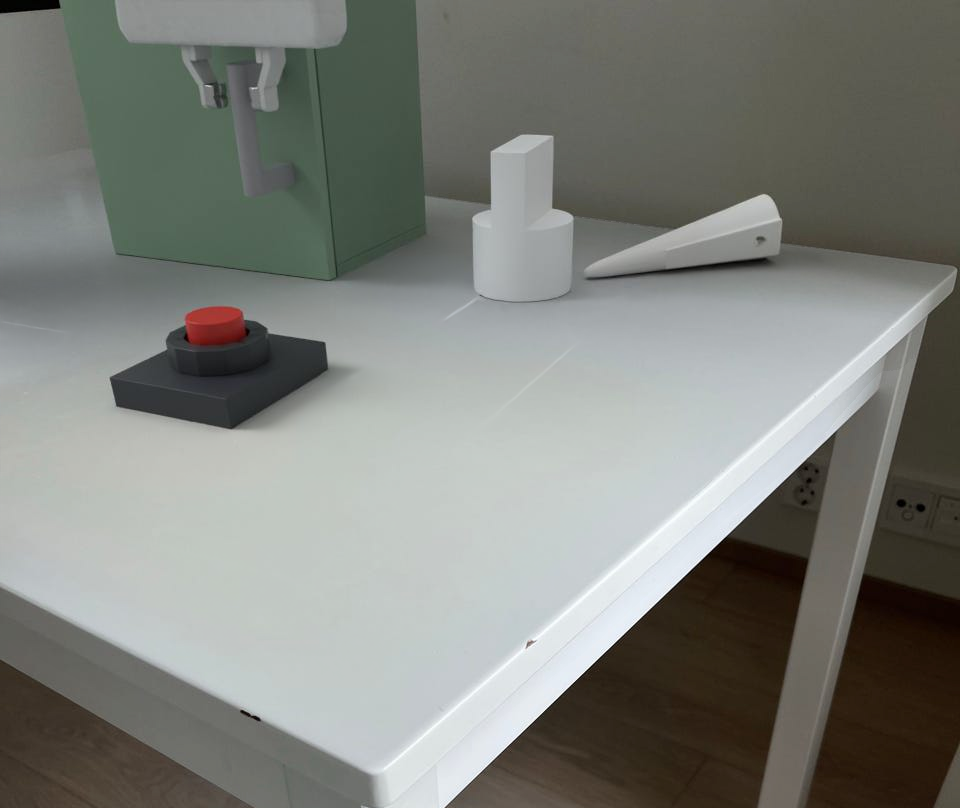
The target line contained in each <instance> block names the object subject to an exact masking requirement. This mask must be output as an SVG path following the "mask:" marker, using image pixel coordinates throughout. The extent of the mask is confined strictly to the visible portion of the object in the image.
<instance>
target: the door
mask: <svg viewBox="0 0 960 808" xmlns="http://www.w3.org/2000/svg"><path fill="white" fill-rule="evenodd" d="M58 1H59V5H60V11H61V16H62V20H63V24H64V28H65V33H66V38H67V42H68V47H69V51H70V56H71V60H72V65H73V69H74V73H75V79H76V83H77V87H78V92H79V97H80V102H81V105H82V110H83V115H84V119H85V123H86V127H87V132H88V137H89V142H90V146H91V151H92V155H93V159H94V164H95V168H96V173H97V177H98V183H99V186H100V191H101V192H100V193H101V195H102V196H101V197H102V200H103V205H104V209H105V213H106V214H105V215H106V217H107V223H108V227H109V233H110V236H111V240H112V245H113V250H114V253H115V254H117V255H118V254H119V255H125V256H134V257H141V258H149V259H155V260H156V259H157V260H165V261H171V262H172V261H173V262H178V263H179V262H180V263H187V264H196V265H202V266H203V265H204V266H212V267H219V268H226V269H227V268H228V269H235V270H244V271H252V272H259V273H266V274H275V275H282V276H283V275H284V276H289V277H299V278H306V279H314V280H321V281H329V282H330V281H332V280H335V279H336V278H337V277H336V269H335V259H334V248H333V238H332V228H331V218H330V208H329V198H328V188H327V178H326V167H325V157H324V147H323V137H322V127H321V117H320V107H319V96H318V86H317V76H316V66H315V56H314V49H307V48H285V57H286V63H285V66H284V68H283V71H282V74H281V77H280V80H279V83H278V85H277V94H278V103H279V106H278V109H277V110H276V111H271V112H261V111H254V110H253V109H252V105H251V102H252V98H251V97H250V90H249V87H253V86H257V85H258V81H259V77H260V73H261V69H262V65H263V63H257V62H256V55H255V48H254V47H239V46H211V54H212V58H210V59H207V61H208V63H209V65H210V67H211V69H212V71H213V73H214V75H215V77H216V79H217V81H218V83H226V88H227V93H226V96H227V97H228V106H227V107H225V108H221V109H208V108H204V107H203V106H202V103H201V97H200V91H199V85H197V83H196V82H195V80H194V78H193V77H192V75H191V73H190V72H189V70H188V68H187V67H186V65H185V64H184V62H183V59H182V52H181V46H180V45H171V44H137V43H130V42H129V41H128V40H127V39H126V37H125V36H124V34H123V33H122V31H121V30H120V28H119V24H118V19H117V13H116V5H115V0H58Z"/></svg>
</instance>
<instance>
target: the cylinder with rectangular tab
mask: <svg viewBox="0 0 960 808" xmlns="http://www.w3.org/2000/svg"><path fill="white" fill-rule="evenodd" d="M554 138H555V136H554V135H550V134H549V135H548V134H547V135H545V134H520V135H518V136H516V137H514V138H513V139H511V140H509V141H507V142H505V143H504V144H502V145H500V146H498V147H496V148H494V149H493V150H491V151H490V209H488V210H484V211H480V212H478V213H476V214H474V215H473V217H472V218H471V224H472V225H471V227H472V228H471V229H472V271H473V273H472V274H473V289H474V291H475V292H476V293H477V294H479V295H480V296H482V297H484V298H486V299H491V300H495V301H502V302H514V303H527V302H528V303H529V302H539V301H540V302H541V301H548V300H552V299H557V298H559V297H562V296H564V295H566V294H567V293H569V292H570V291H571V289H572V277H573V275H572V274H573V249H574V248H573V247H574V246H573V245H574V219H575V218H574V216H573V214H571V213H569V212H567V211H564V210H561V209H556V208H553V185H554V147H555V145H554V144H555V143H554V141H555V139H554Z"/></svg>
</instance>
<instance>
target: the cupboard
mask: <svg viewBox="0 0 960 808" xmlns="http://www.w3.org/2000/svg"><path fill="white" fill-rule="evenodd" d="M345 3H346V14H347V29H346V32H345V35H344V37H343V39H342V41H341V43H340V44H339V45H337V46H333V47H328V48H321V49H314V56H315V66H316V76H317V86H318V96H319V107H320V117H321V127H322V137H323V147H324V157H325V167H326V178H327V188H328V198H329V208H330V218H331V228H332V238H333V248H334V259H335V269H336V278H340V277H342V276H345V275H346V274H348V273H350V272H352V271H354V270H357V269H358V268H360V267H362V266H364V265H366V264H369V263H370V262H372V261H375V260H377V259H378V258H381V257H382V256H385V255H387V254H388V253H391V252H393V251H395V250H397V249H399V248H401V247H403V246H405V245H407V244H409V243H411V242H413V241H416V240H418V239H419V238H420V237H423V236H425V235H427V217H426V215H427V214H426V196H425V194H426V193H425V192H426V191H425V174H424V173H425V172H424V170H425V169H424V150H423V130H422V129H423V128H422V108H421V85H420V67H419V66H420V65H419V64H420V63H419V62H420V61H419V44H418V41H419V40H418V22H417V21H418V19H417V0H345Z"/></svg>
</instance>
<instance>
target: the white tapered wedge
mask: <svg viewBox="0 0 960 808" xmlns="http://www.w3.org/2000/svg"><path fill="white" fill-rule="evenodd" d="M782 231H783V219H782V217H780V214H779V210H778V207H777V205H776V203H775V202H774V200H773V198H772V197H771V196H770V195H768V194H766V193H763V194H759V195H757V196H755V197H751V198H749V199H746V200H744V201H742V202H739V203H737V204H734V205H732V206H730V207H728V208H724V209H722V210H720V211H718V212H715V213H712V214H710V215H707V216H705V217H702V218H699V219H698V220H696V221H693V222H690V223H688V224H685V225H682V226H681V227H678V228H676V229H673V230H670V231H668V232H665V233H663V234H661V235H658V236H656V237H653V238H651V239H648V240H646V241H644V242H641V243H638V244H636V245H633V246H631V247H628V248H626V249H624V250H621V251H619V252H616V253H614V254H611V255H609V256H607V257H604V258H602V259H599V260H597V261H595V262H593V263H591V264H589V265H588V266H587V267H585V269H584V272H583V274H584V275H585V276H586V277H587V278H605V277H606V278H607V277H615V276H624V275H633V274H640V273H641V274H642V273H650V272H657V271H667V270H668V271H669V270H674V269H683V268H692V267H700V266H710V265H717V264H718V265H719V264H725V263H733V262H734V263H735V262H744V261H745V262H746V261H752V260H759V259H760V260H762V259H768V258H772V257H774V256H779V255H780V250H781V249H780V248H781V240H782ZM759 237H762V238H764V239H763V240H762V241H761V242H760V243H758V240H757V238H759Z"/></svg>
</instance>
